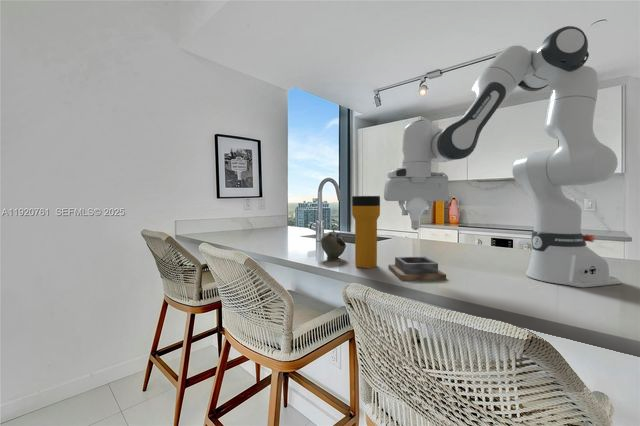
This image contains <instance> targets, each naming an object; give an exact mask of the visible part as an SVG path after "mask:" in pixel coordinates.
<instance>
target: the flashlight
mask: <svg viewBox="0 0 640 426" xmlns="http://www.w3.org/2000/svg"><path fill="white" fill-rule="evenodd" d="M351 215H352V218H353V219H354V222H355V224H354V229H355V230H354V233H355V235H354V237H355V239H354V243H355V244H354V246H355V247H354V248H355V249H354V250H355V251H354V252H355V255H354V256H355V259H354V261H355V263H354V264H355V267H358V268H363V269H373V268H375V267H377V266H378V220H379V217H380V215H381V196H380V195H368V194H364V195H353V196H352V197H351Z"/></svg>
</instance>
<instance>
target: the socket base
mask: <svg viewBox="0 0 640 426" xmlns="http://www.w3.org/2000/svg"><path fill="white" fill-rule="evenodd" d="M388 270H389V271H390V272H391V273H392V274H393V275H395V277H396V278H398V279H399V280H400V281H422V280H423V281H426V280H427V281H428V280H432V281H434V280H435V281H436V280H437V281H438V280H440V281H441V280H447V274H446V273H444V272H443V271H441V270H439V263H438V262H436V261H434V260H432V259H430V258H428V257H427V256H395V257H394V264H388Z"/></svg>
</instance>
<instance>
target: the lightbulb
mask: <svg viewBox="0 0 640 426" xmlns="http://www.w3.org/2000/svg"><path fill="white" fill-rule="evenodd" d="M426 208H427V201H425V200H424V199H422V198H420V197H416V198H414V199H412V200H411V201H405V210H408V215H409V218H410V223H411V225H410V226H411V227H410V228H411V229H412V230H414V231H418V229H420V228H421V227H420V225H421V224H420V223H421V219H422V215H423V213H424V211H425V210H426Z"/></svg>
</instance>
